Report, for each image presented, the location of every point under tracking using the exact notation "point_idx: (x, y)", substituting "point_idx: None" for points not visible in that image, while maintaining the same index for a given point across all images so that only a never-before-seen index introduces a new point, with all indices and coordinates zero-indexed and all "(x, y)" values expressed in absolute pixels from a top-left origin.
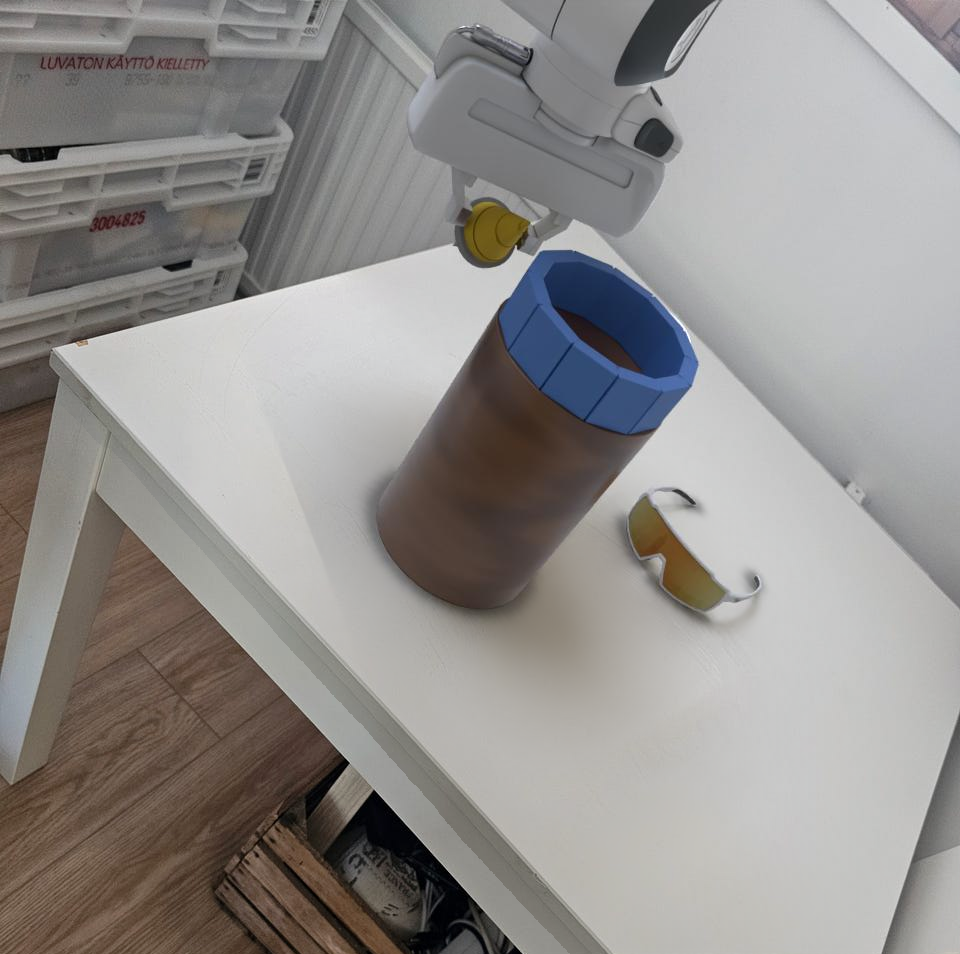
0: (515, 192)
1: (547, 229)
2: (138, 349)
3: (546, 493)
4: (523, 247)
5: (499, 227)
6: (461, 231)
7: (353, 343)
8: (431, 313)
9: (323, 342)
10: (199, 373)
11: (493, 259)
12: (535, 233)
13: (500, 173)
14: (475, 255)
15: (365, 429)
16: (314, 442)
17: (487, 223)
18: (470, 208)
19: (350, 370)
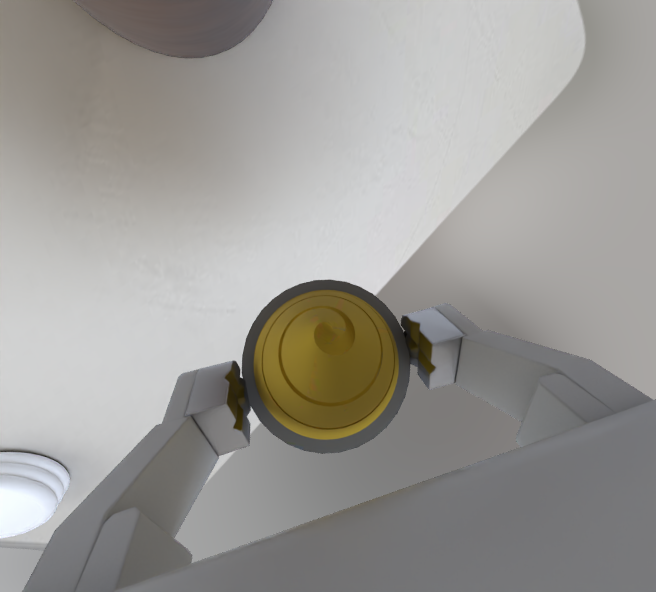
0: (438, 487)
1: (161, 466)
2: (530, 110)
3: None
4: (224, 369)
5: (369, 318)
6: (390, 316)
7: (334, 256)
8: None
9: (363, 237)
10: (483, 107)
11: (289, 301)
12: (203, 430)
13: (649, 517)
14: (332, 289)
15: (315, 115)
16: (375, 48)
17: (384, 334)
18: (438, 351)
19: (336, 213)
